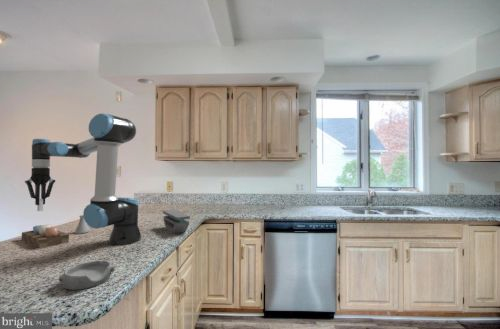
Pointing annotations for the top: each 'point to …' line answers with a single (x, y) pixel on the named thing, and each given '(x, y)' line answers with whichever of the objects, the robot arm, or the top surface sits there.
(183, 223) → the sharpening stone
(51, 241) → the wooden egg tray
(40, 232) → the off-white round ball
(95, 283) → the dish
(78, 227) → the flask
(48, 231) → the peach orange ball
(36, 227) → the blue rounded lump
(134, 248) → the top surface
